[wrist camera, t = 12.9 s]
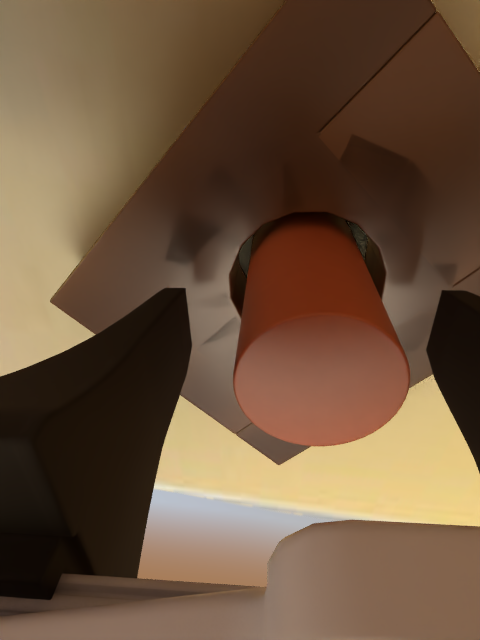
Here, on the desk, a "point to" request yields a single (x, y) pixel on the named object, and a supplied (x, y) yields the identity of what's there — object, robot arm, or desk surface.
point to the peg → (315, 337)
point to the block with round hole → (306, 184)
